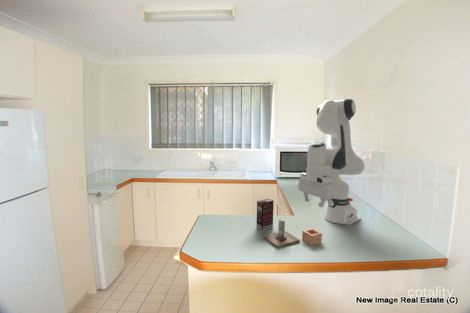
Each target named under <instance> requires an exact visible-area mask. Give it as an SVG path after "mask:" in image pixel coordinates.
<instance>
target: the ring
mask: <svg viewBox="0 0 470 313" xmlns="http://www.w3.org/2000/svg"><path fill="white" fill-rule="evenodd" d="M301 234H302V235H301V236H302V237H301V240H302V241H303V242H305V243H306V244H308V245H310V246H315V245H318V244H322V241H323V240H322V239H323V233H322V232H320V231H319V230H317V229H314V227H312V228H308V229H304V230H302V233H301Z"/></svg>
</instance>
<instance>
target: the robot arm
mask: <svg viewBox="0 0 470 313" xmlns="http://www.w3.org/2000/svg"><path fill="white" fill-rule="evenodd" d="M321 103H322V104H320V105H318V106H317V108H316V116H317V117H316V127H317V128H318V130H319V131H320V132H322V133H323V134H326V135H329V136H330V147H331V148H327V146H326V144H325V142H318V141H316V142H311V143H309V146H308V148H307V149H308V150H307V153H306V163H307V167H306V169H305V171H306V172H302V173H301V174H300V176H299V180H298V187H297V188H298V189H297V190H298V191H300V192H302V194H303V197H304V201H305V202H310V197H309V195H310V196H314V197H317V198H319V199H320V202H318V208H319V207H320V208H324V205H325V204H326V205H325V206H326V207H325V212H324V214H323V215H324V217H323V219H324V220H326V221H327V222H330V223H333V224H340V225H348V226H350V225H352V224H354V223H356V222H359V221H360V220H361V219H362V218H361V217H360V215H357V214H358V212H357V208H355V207H354V206H353V205H352V204H351V202H353V200H354V198H353V197H349V193H350V191H349V190H350V185H349V184H348V182H346V181H345V180H343V179H341V178H340V176H342V175H343V176H357V175H361V174H362V173H363V172H364V170H365V162H364V160H363V159H362V158H361V157H359V155H357V154H356V153H355V150H354V149H353V148H352V141H351V139H352V138H351V136H352V135H351V134H352V133H351V124H350V120H351V119H352V118H353V117H354V116H355V114H356V111H357V110H356V109H357V105H356V103H355V101H354V99H351V98H345V99H340V100H339V99H338V100H332V99H328V100H325V101H324V102H321ZM326 201H327V203H326Z"/></svg>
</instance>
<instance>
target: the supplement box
mask: <svg viewBox="0 0 470 313" xmlns="http://www.w3.org/2000/svg"><path fill="white" fill-rule="evenodd" d="M274 204H275V203H274V199H270V198H265V199H261V200H256V229H257V230H259V231H261V232H263V231H266V229H267V230H269V229H272V228H274Z"/></svg>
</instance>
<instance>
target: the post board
mask: <svg viewBox="0 0 470 313" xmlns="http://www.w3.org/2000/svg"><path fill="white" fill-rule="evenodd" d="M285 224H286V221H285V219H279V220H278V228H277V229H278V230H277V231H278V232H274V233H270V234H266V235H262V239H263V240H265V241H266V242H267V243H269V244H270V245H272V246H273V247H275V248H276V249H280V248H283V247H287V246H290V245H294V244H298V243H300V242H301V240H300V239H299V238H297V237H296V236H294V235H293V234H291V233H289V232H288V231H286V230H285V226H286V225H285Z"/></svg>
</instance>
